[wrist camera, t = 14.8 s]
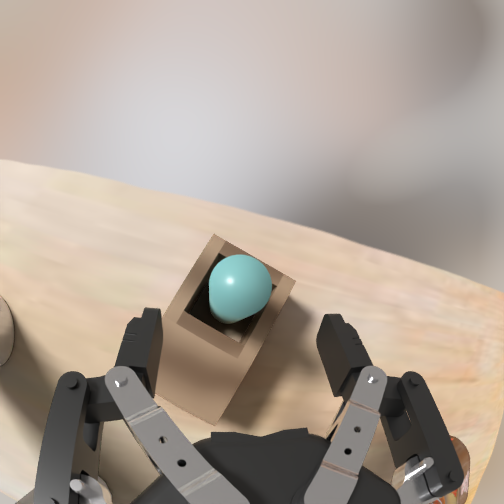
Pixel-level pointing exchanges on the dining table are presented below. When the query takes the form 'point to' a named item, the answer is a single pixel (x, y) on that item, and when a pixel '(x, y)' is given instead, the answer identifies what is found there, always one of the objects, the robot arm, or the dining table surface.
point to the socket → (211, 341)
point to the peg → (238, 288)
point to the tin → (457, 498)
